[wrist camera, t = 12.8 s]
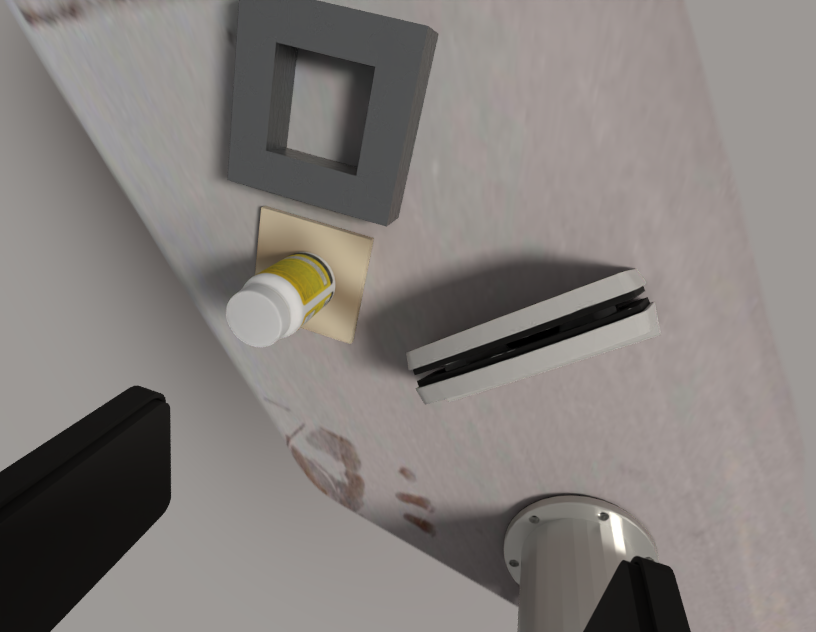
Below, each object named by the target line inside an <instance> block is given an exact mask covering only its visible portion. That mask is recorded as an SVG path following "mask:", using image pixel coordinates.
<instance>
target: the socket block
mask: <svg viewBox="0 0 816 632" xmlns="http://www.w3.org/2000/svg"><path fill="white" fill-rule="evenodd" d="M437 38H438V33H437V32H435V31H434V30H433V29H431V28H430V27H429V26H425V25H421V24H417V23H413V22H408V21H404V20H400V19H395V18H391V17H387V16H382V15H378V14H374V13H369V12H365V11H361V10H356V9H352V8H348V7H343V6H339V5H335V4H330V3H326V2H322V1H317V0H239V10H238V26H237V41H236V57H235V72H234V87H233V103H232V118H231V134H230V149H229V165H228V180H230V181H233V182H236V183H240V184H243V185H247V186H250V187H253V188H257V189H260V190H264V191H267V192H271V193H274V194H277V195H281V196H284V197H288V198H291V199H294V200H298V201H301V202H305V203H308V204H312V205H315V206H318V207H322V208H325V209H329V210H332V211H335V212H339V213H342V214H346V215H349V216H352V217H356V218H359V219H363V220H366V221H370V222H373V223H376V224H380V225H383V226H388V225H389V224H391V223H392V222H393V221H395V220H396V219H397V218H398V217H399V212H400V207H401V203H402V198H403V194H404V189H405V185H406V180H407V175H408V171H409V166H410V162H411V157H412V152H413V148H414V143H415V139H416V134H417V129H418V125H419V120H420V116H421V111H422V107H423V102H424V97H425V93H426V88H427V84H428V79H429V74H430V70H431V65H432V61H433V56H434V51H435V47H436V42H437ZM297 48H300V49H304V50H308V51H312V52H316V53H320V54H324V55H328V56H332V57H336V58H340V59H344V60H348V61H352V62H357V63H361V64H365V65H369V66H373V67H375V72H374V77H373V83H372V89H371V94H370V100H369V106H368V112H367V117H366V123H365V129H364V135H363V140H362V146H361V152H360V158H359V163H358V168H357V167H353V166H350V165H346V164H343V163H339V162H335V161H332V160H328V159H325V158H321V157H317V156H314V155H310V154H307V153H303V152H299V151H296V150H292V149H289V148H286V147H287V138H288V129H289V120H290V111H291V102H292V93H293V84H294V75H295V66H296V57H297Z"/></svg>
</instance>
